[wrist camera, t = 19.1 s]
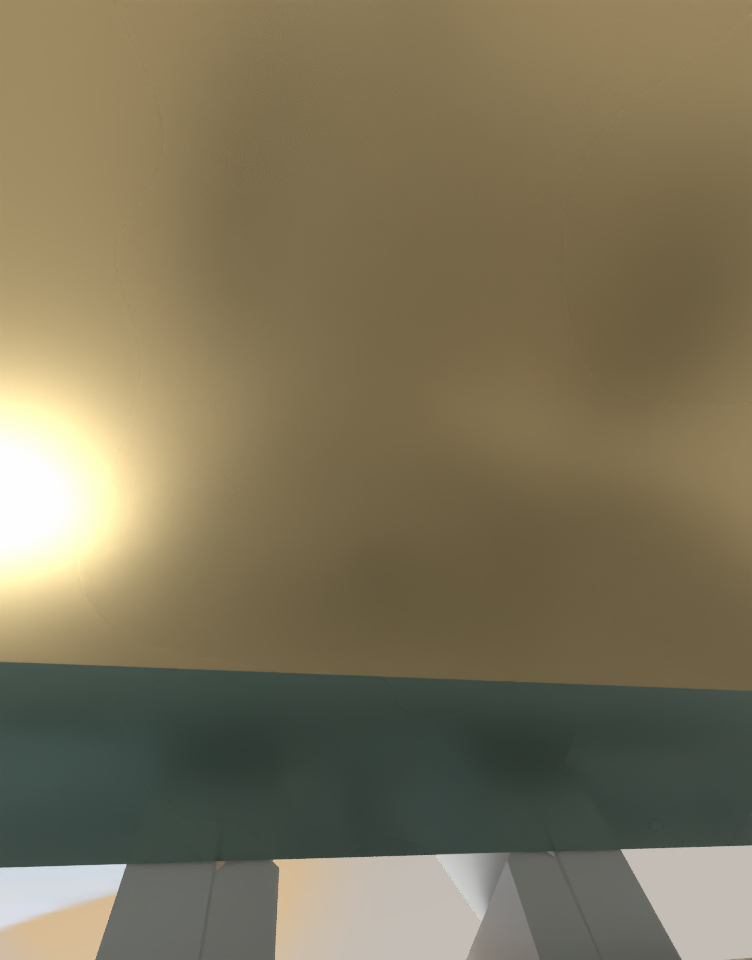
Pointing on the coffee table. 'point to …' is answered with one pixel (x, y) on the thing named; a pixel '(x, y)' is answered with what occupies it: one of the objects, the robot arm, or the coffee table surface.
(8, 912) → the coffee table surface
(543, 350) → the brass block
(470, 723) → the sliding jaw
